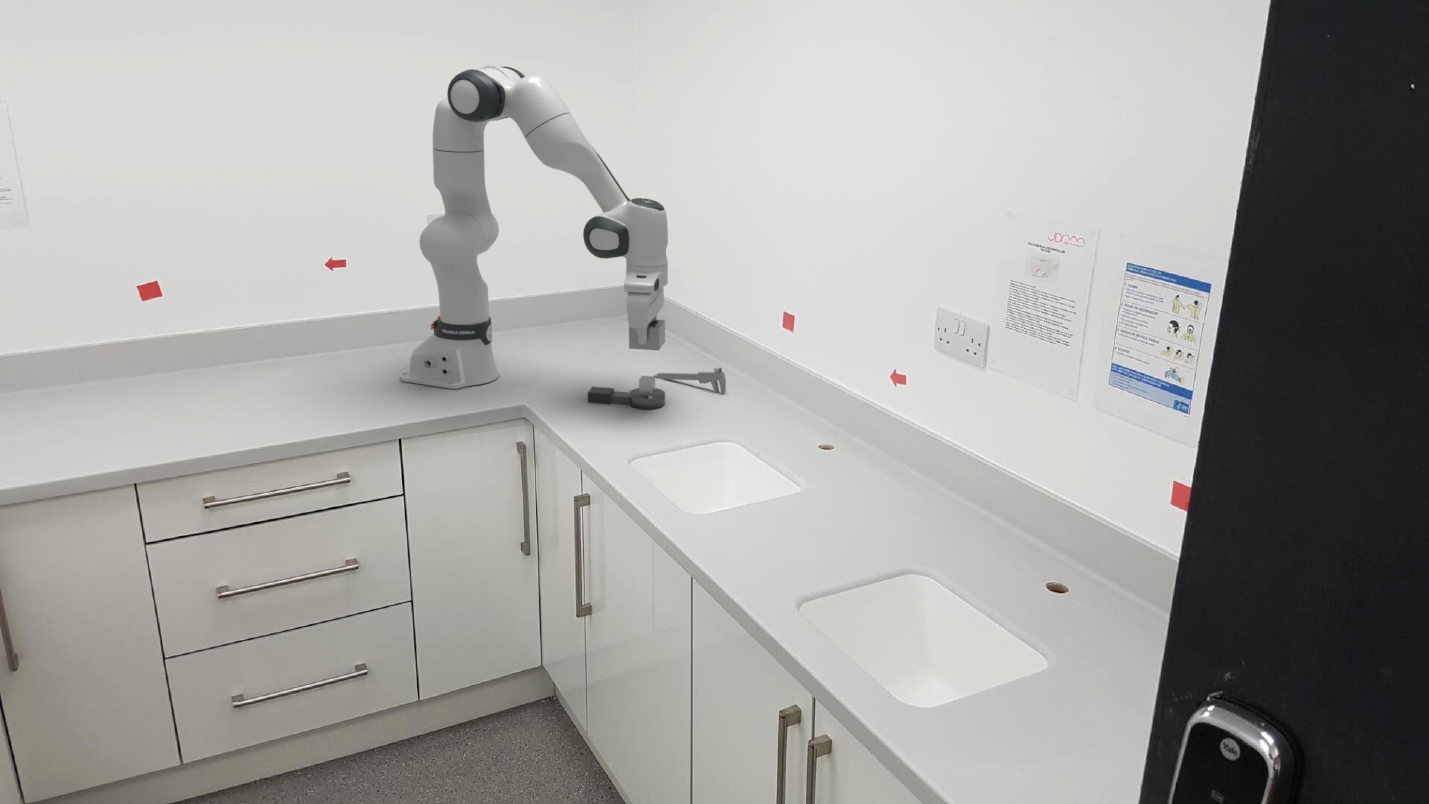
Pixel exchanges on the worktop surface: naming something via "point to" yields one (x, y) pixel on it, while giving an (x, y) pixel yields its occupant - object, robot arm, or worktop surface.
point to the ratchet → (631, 395)
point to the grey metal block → (649, 336)
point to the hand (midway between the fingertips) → (646, 338)
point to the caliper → (699, 378)
